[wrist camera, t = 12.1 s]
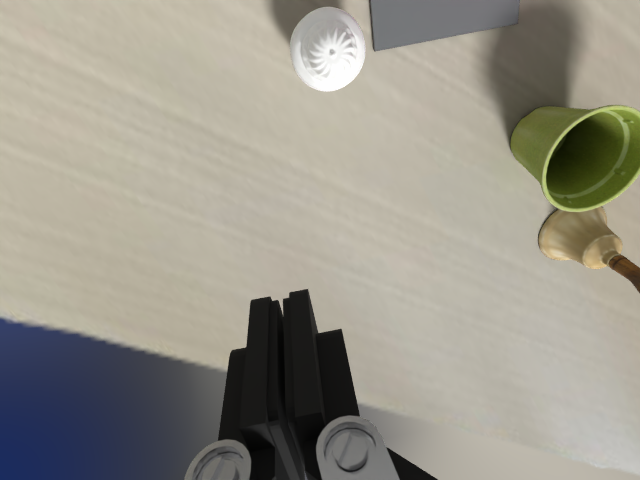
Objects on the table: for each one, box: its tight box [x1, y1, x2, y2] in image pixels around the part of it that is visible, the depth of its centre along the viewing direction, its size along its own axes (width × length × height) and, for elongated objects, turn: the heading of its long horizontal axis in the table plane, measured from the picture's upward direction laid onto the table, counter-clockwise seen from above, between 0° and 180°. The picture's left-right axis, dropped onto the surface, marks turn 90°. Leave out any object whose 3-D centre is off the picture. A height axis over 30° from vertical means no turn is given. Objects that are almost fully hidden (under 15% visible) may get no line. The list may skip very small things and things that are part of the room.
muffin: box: [290, 7, 365, 91], centre depth 31 cm, size 6×6×7 cm
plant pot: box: [511, 105, 640, 212], centre depth 36 cm, size 9×9×9 cm
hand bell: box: [539, 206, 640, 293], centre depth 40 cm, size 8×8×16 cm
